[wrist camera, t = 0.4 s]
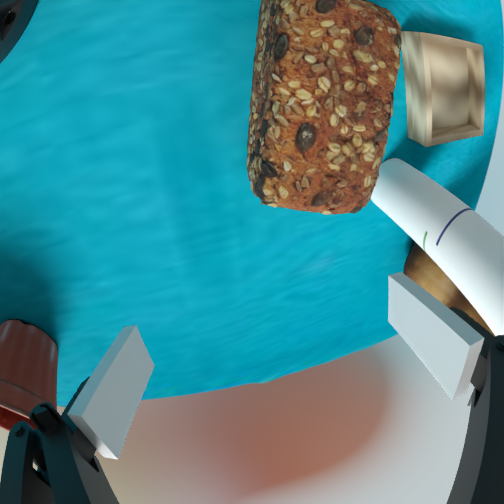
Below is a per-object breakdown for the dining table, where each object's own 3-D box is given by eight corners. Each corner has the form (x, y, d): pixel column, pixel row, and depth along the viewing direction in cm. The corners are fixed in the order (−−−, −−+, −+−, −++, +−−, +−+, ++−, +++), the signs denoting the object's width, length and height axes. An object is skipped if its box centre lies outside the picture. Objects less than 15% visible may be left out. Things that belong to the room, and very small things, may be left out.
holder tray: (398, 30, 20) (419, 32, 17) (463, 41, 20) (482, 45, 18) (407, 137, 29) (426, 147, 26) (466, 126, 29) (482, 134, 27)
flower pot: (-16, 295, 26) (-47, 384, 14) (70, 326, 34) (58, 425, 22) (-1, 350, 33) (-15, 421, 21) (69, 373, 41) (65, 448, 29)
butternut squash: (382, 245, 40) (481, 375, 21) (441, 199, 37) (547, 303, 18) (395, 287, 48) (466, 391, 29) (444, 248, 46) (521, 338, 27)
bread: (328, 176, 30) (379, 222, 23) (235, 174, 28) (263, 227, 20) (354, 20, 19) (424, 17, 11) (253, -5, 16) (296, -37, 9)
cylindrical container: (415, 163, 32) (557, 285, 13) (398, 208, 36) (517, 338, 17) (379, 153, 29) (547, 296, 10) (361, 204, 34) (495, 359, 15)
